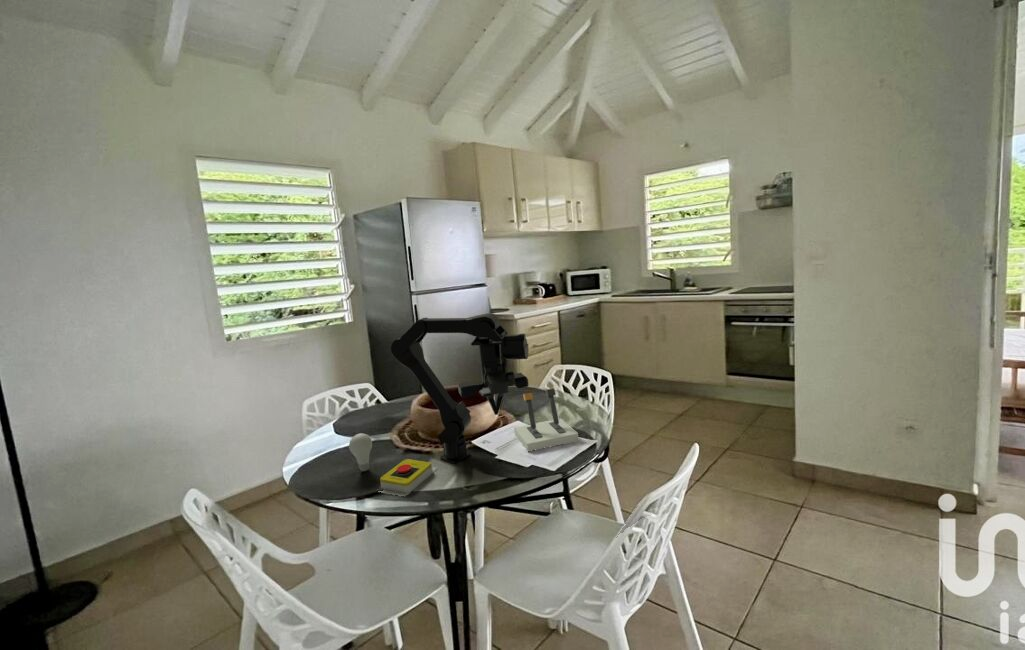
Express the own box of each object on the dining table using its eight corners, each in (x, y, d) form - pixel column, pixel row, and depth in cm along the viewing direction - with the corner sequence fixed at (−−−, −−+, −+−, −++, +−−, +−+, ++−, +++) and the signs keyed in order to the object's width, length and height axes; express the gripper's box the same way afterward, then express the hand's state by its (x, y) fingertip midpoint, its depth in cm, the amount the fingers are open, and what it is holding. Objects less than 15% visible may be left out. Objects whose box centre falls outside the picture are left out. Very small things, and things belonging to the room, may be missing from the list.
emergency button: (373, 477, 110) (409, 451, 124) (375, 493, 111) (411, 465, 124) (402, 482, 106) (437, 454, 120) (405, 499, 107) (438, 469, 120)
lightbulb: (355, 478, 118) (349, 441, 116) (351, 469, 124) (346, 433, 122) (377, 472, 121) (372, 435, 119) (373, 463, 126) (368, 427, 124)
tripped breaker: (531, 430, 131) (524, 393, 133) (529, 430, 133) (522, 394, 135) (538, 428, 132) (531, 392, 134) (536, 428, 133) (530, 392, 135)
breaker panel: (527, 452, 125) (523, 405, 123) (514, 435, 138) (511, 392, 135) (578, 441, 129) (575, 396, 127) (561, 425, 142) (558, 384, 139)
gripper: (462, 372, 108) (468, 431, 111) (532, 361, 113) (537, 417, 116) (455, 362, 119) (461, 416, 121) (519, 352, 124) (524, 404, 126)
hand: (496, 414), depth 121 cm, fingers closed
